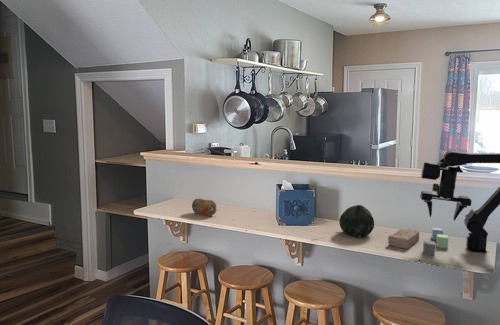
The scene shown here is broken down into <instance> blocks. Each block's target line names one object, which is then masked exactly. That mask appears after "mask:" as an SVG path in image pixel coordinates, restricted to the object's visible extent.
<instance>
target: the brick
mask: <svg viewBox="0 0 500 325" xmlns="http://www.w3.org/2000/svg"><path fill="white" fill-rule="evenodd" d="M387 237H388V239H387V240H388V241H387V244H388V245H389V246H391V247H395V248H398V249H404V250H407V249H410V248H412V246H413V245H414V244H416V243H417V242H419V240H420V231H419V230H416V229H410V228H405V227H404V228H400V229H397V231H396V232H393V233H391V234H389V235H388V236H387Z"/></svg>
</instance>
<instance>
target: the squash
mask: <svg viewBox="0 0 500 325" xmlns="http://www.w3.org/2000/svg"><path fill="white" fill-rule="evenodd" d="M338 222H339V227H340V229H341V230H342V232H344V233H346V234H347V235H351V236H354V237H356V238H359V237H361V238H364V237H366V236H368V235H369V234H371V233H372V232H373V230H374V228H375V218H374V216H373V214H372V213H371V211H370V210H369V209H367V208H366V207H365V206H364V205H362V204H356V205H352V206H349V207H347V208H346V209H345V210H344V211H343V213H341V215H340V218H339V220H338Z"/></svg>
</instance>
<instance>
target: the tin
mask: <svg viewBox="0 0 500 325" xmlns="http://www.w3.org/2000/svg"><path fill="white" fill-rule="evenodd" d="M191 208H192V211H193V212H194V214H195V215H199V216H205V217H213V216H214V215H215V214H216V212H217V204H216V203H215V201H214V200H212V199H205V198H195V199H194V200H193V202H192V204H191Z"/></svg>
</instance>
